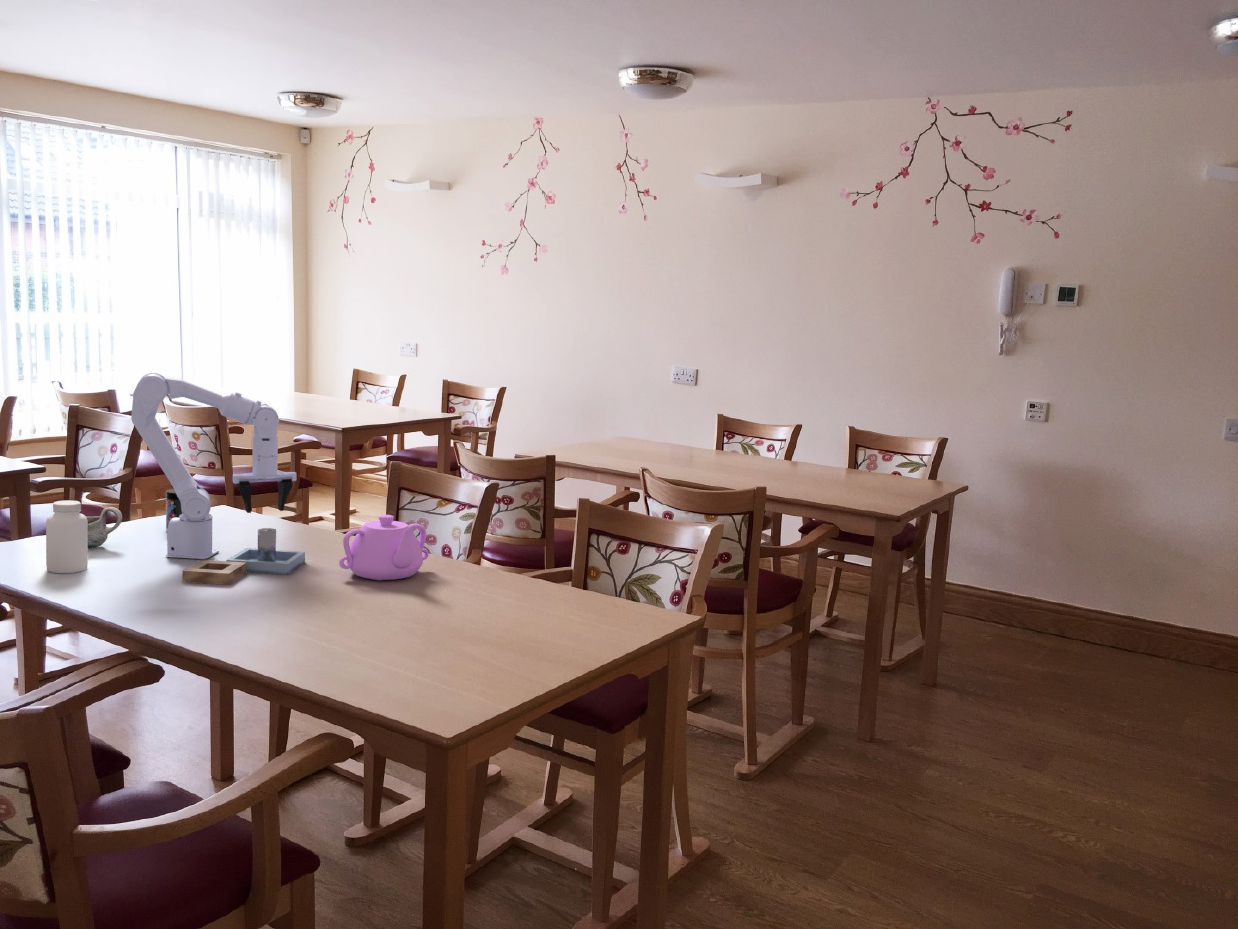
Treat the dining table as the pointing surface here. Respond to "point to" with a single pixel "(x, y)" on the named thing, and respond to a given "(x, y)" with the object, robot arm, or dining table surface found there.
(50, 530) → the pill bottle
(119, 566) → the dining table surface
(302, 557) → the tray
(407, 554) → the pink lidded pot
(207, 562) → the socket block
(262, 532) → the pin
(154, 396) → the robot arm
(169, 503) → the supplement container
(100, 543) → the mug
